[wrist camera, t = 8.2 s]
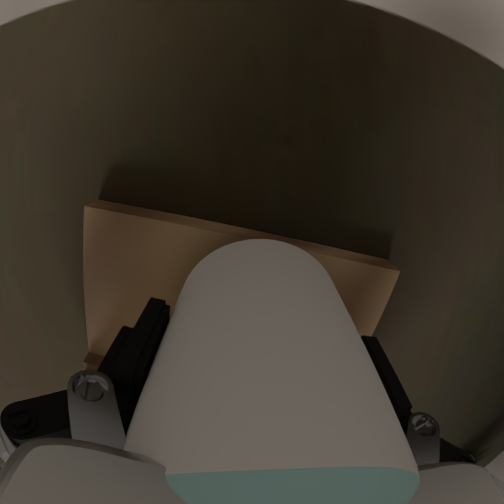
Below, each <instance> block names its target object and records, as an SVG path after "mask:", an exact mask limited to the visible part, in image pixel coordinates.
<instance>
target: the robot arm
mask: <svg viewBox="0 0 504 504" xmlns="http://www.w3.org/2000/svg"><path fill="white" fill-rule="evenodd" d="M169 317H170V305H166V301H165V300H162V299H158V298H154V297H151V298H150V299H149V301H148V303H147V305H146V306H145V308H144V310H143V312H142V313H141V315H140V317H139V319H138V321H137V323H136V324H135V326H134V328H131V327H128V326H123V327H122V328H121V329H120V331H119V333H118V334H117V336H116V338H115V339H114V341H113V343H112V345H111V346H110V348H109V350H108V352H107V353H106V355H105V357H104V359H103V360H102V362H101V364H100V366H99V367H98V369H97V371H95V370H83V371H80V372H77V373H75V374H74V375H73V376H71V377H70V379H69V381H68V384H67V390H63V391H59V392H55V393H52V394H48V395H44V396H39V397H35V398H31V399H27V400H23V401H18V402H14V403H12V404H9V405H8V406H7V407H5V408H4V410H3V411H2V413H1V416H0V504H187V503H186V502H185V501H183V500H182V499H181V498H180V497H179V496H178V495H177V494H176V493H175V492H174V491H173V490H172V489H171V487H170V486H169V485H168V482H167V479H166V477H165V471H166V467H165V466H163V465H161V464H160V463H158V462H157V461H155V460H153V459H152V458H150V457H148V456H145V455H141V454H138V453H134V452H130V451H126V450H123V449H124V446H125V443H126V434H127V431H128V428H129V425H130V423H131V420H132V417H133V414H134V411H135V409H136V406H137V403H138V400H139V397H140V395H141V392H142V389H143V387H144V384H145V381H146V379H147V376H148V373H149V371H150V368H151V365H152V363H153V360H154V358H155V355H156V352H157V350H158V347H159V345H160V342H161V340H162V337H163V335H164V332H165V330H166V327H167V325H168V322H169ZM361 339H362V341H363V343H364V345H365V347H366V349H367V351H368V354H369V356H370V358H371V360H372V362H373V364H374V366H375V368H376V371H377V373H378V375H379V377H380V379H381V381H382V384H383V386H384V388H385V390H386V392H387V395H388V397H389V399H390V401H391V404H392V406H393V408H394V411H395V413H396V415H397V418H398V420H399V422H400V425H401V427H402V429H403V432H404V434H405V436H406V439H407V441H408V444H409V446H410V449H411V451H412V454H413V456H414V459H415V461H416V464H417V466H418V473H419V475H420V483H419V486H418V488H417V490H416V491H415V493H414V495H413V496H412V498H411V499H410V501H409V502H408V503H407V504H504V482H503V481H501V480H499V479H498V478H496V477H495V476H493V475H491V474H490V473H489V471H488V470H487V469H485V468H484V467H482V466H480V465H477V464H476V463H475V460H474V457H473V455H472V454H468V453H467V452H465V451H463V450H461V449H459V448H458V447H456V446H454V445H452V444H451V443H449V442H447V441H445V440H444V439H442V438H440V428H439V425H438V423H437V421H436V420H435V419H434V418H433V417H432V416H430V415H429V414H426V413H423V412H415V413H413V414H412V413H411V411H410V410H411V408H412V405H411V403H410V401H409V399H408V397H407V395H406V393H405V391H404V389H403V387H402V385H401V383H400V381H399V379H398V377H397V375H396V373H395V371H394V369H393V368H392V366H391V364H390V362H389V360H388V358H387V356H386V354H385V352H384V351H383V349H382V347H381V345H380V343H379V341H378V340H377V338H376V337H372V336H364V335H363V336H361Z"/></svg>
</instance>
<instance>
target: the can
mask: <svg viewBox="0 0 504 504" xmlns="http://www.w3.org/2000/svg"><path fill="white" fill-rule="evenodd" d="M123 450H126V451H130V452H134V453H138V454H141V455H145V456H148V457H150V458H152V459H153V460H155V461H157V462H158V463H160V464H161V465H163V466H165V467H166V471H165V477H166V479H167V482H168V485H169V486H170V487H171V489H172V490H173V491H174V492H175V493H176V494H177V495H178V496H179V497H180V498H181V499H182V500H183V501H185V502H186V503H187V504H407V503H408V502H409V501H410V499H411V498H412V496H413V495H414V493H415V491H416V490H417V488H418V486H419V483H420V475H419V473H418V466H417V464H416V461H415V459H414V456H413V454H412V451H411V449H410V446H409V444H408V441H407V439H406V436H405V434H404V432H403V429H402V427H401V425H400V422H399V420H398V418H397V415H396V413H395V411H394V408H393V406H392V404H391V401H390V399H389V397H388V395H387V392H386V390H385V388H384V386H383V384H382V381H381V379H380V377H379V375H378V373H377V371H376V368H375V366H374V364H373V362H372V360H371V358H370V356H369V354H368V351H367V349H366V347H365V345H364V343H363V341H362V339H361V337H360V335H359V333H358V331H357V329H356V327H355V325H354V323H353V321H352V319H351V317H350V315H349V313H348V311H347V309H346V307H345V305H344V303H343V301H342V299H341V297H340V295H339V293H338V291H337V289H336V287H335V285H334V283H333V282H332V280H331V278H330V276H329V274H328V273H327V271H326V270H325V268H324V267H323V266H322V265H321V264H320V263H319V262H318V261H317V260H316V259H315V258H314V257H313V256H311V255H310V254H309V253H307V252H306V251H304V250H302V249H300V248H298V247H296V246H294V245H291V244H288V243H285V242H281V241H277V240H270V239H249V240H243V241H238V242H234V243H231V244H228V245H225V246H223V247H221V248H219V249H217V250H215V251H213V252H212V253H210V254H209V255H207V256H206V257H205V258H204V259H202V260H201V261H200V262H199V263H198V264H197V265H196V266H195V268H194V269H193V270H192V271H191V273H190V274H189V276H188V278H187V280H186V282H185V284H184V286H183V288H182V291H181V293H180V295H179V298H178V300H177V303H176V305H175V308H174V310H173V312H172V315H171V317H170V320H169V322H168V325H167V327H166V330H165V332H164V335H163V337H162V340H161V342H160V345H159V347H158V350H157V352H156V355H155V358H154V360H153V363H152V365H151V368H150V371H149V373H148V376H147V379H146V381H145V384H144V387H143V389H142V392H141V395H140V397H139V400H138V403H137V406H136V409H135V411H134V414H133V417H132V420H131V423H130V425H129V428H128V431H127V434H126V443H125V446H124V449H123Z"/></svg>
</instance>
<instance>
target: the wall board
mask: <svg viewBox="0 0 504 504" xmlns="http://www.w3.org/2000/svg"><path fill="white" fill-rule="evenodd" d="M249 239H270V240H277V241H281V242H285V243H288V244H291V245H294V246H296V247H298V248H300V249H302V250H304V251H306V252H307V253H309V254H310V255H311V256H313V257H314V258H315V259H316V260H317V261H318V262H319V263H320V264H321V265H322V266H323V267H324V268H325V270H326V271H327V273H328V274H329V276H330V278H331V280H332V282H333V283H334V285H335V287H336V289H337V291H338V293H339V295H340V297H341V299H342V301H343V303H344V305H345V307H346V309H347V311H348V313H349V315H350V317H351V319H352V321H353V323H354V325H355V327H356V329H357V331H358V333H359V335H360V337H361V336H363V335H364V336H372V334H373V332H374V330H375V328H376V326H377V324H378V322H379V320H380V318H381V315H382V313H383V311H384V309H385V307H386V304H387V302H388V300H389V297H390V295H391V293H392V290H393V288H394V286H395V283H396V281H397V278H398V276H399V273H400V271H399V270H398V269H397V268H396V267H395V266H394V265H393V264H392V263H391V262H390V261H389V260H386V259H382V258H378V257H374V256H369V255H365V254H361V253H356V252H352V251H348V250H343V249H339V248H334V247H330V246H325V245H321V244H316V243H312V242H307V241H303V240H298V239H294V238H289V237H284V236H280V235H275V234H271V233H266V232H261V231H256V230H252V229H247V228H242V227H237V226H232V225H228V224H223V223H218V222H213V221H208V220H203V219H198V218H193V217H188V216H183V215H178V214H173V213H168V212H163V211H157V210H152V209H147V208H142V207H136V206H131V205H126V204H120V203H115V202H110V201H104V200H99V199H98V200H96V201H94V202H91V203H89V204H87V205H86V206H84V227H83V277H84V299H85V314H86V326H87V336H88V345H89V353H88V355H87V357H86V358H85V360H84V361H83V364H84V370H95V371H97V369H98V367H99V366H100V364H101V362H102V360H103V359H104V357H105V355H106V353H107V352H108V350H109V348H110V346H111V345H112V343H113V341H114V339H115V338H116V336H117V334H118V333H119V331H120V329H121V328H122V327H123V326H128V327H131V328H134V326H135V324H136V323H137V321H138V319H139V317H140V315H141V313H142V312H143V310H144V308H145V306H146V305H147V303H148V301H149V299H150V298H151V297H154V298H158V299H162V300H165V301H166V305H170V317H171V315H172V312H173V310H174V308H175V305H176V303H177V300H178V298H179V295H180V293H181V291H182V288H183V286H184V284H185V282H186V280H187V278H188V276H189V274H190V273H191V271H192V270H193V269H194V268H195V266H196V265H197V264H198V263H199V262H200V261H201V260H202V259H204V258H205V257H206V256H207V255H209V254H210V253H212V252H213V251H215V250H217V249H219V248H221V247H223V246H225V245H228V244H231V243H234V242H238V241H243V240H249ZM170 317H169V320H170Z"/></svg>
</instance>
